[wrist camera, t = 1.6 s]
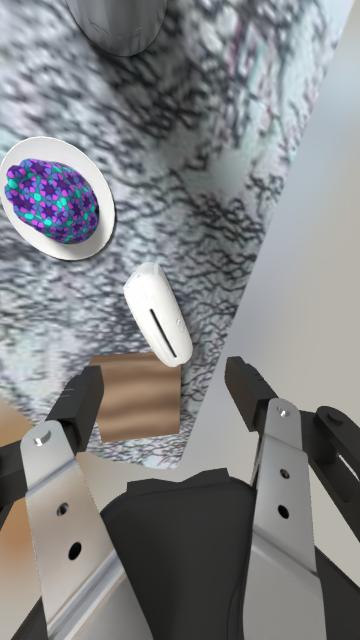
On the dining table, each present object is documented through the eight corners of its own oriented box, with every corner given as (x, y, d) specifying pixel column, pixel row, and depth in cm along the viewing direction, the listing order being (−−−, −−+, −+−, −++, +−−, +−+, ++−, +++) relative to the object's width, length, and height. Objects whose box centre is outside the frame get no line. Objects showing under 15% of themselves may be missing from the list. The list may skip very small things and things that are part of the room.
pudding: (6, 243, 22) (-34, 244, 18) (0, 117, 18) (-54, 74, 13) (108, 270, 25) (97, 277, 20) (123, 167, 21) (115, 146, 16)
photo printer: (129, 268, 25) (109, 292, 14) (157, 255, 25) (161, 269, 14) (159, 328, 30) (164, 383, 18) (184, 318, 29) (203, 367, 18)
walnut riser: (93, 355, 30) (85, 371, 26) (177, 350, 32) (181, 365, 28) (107, 422, 36) (102, 442, 33) (176, 415, 38) (179, 433, 34)
